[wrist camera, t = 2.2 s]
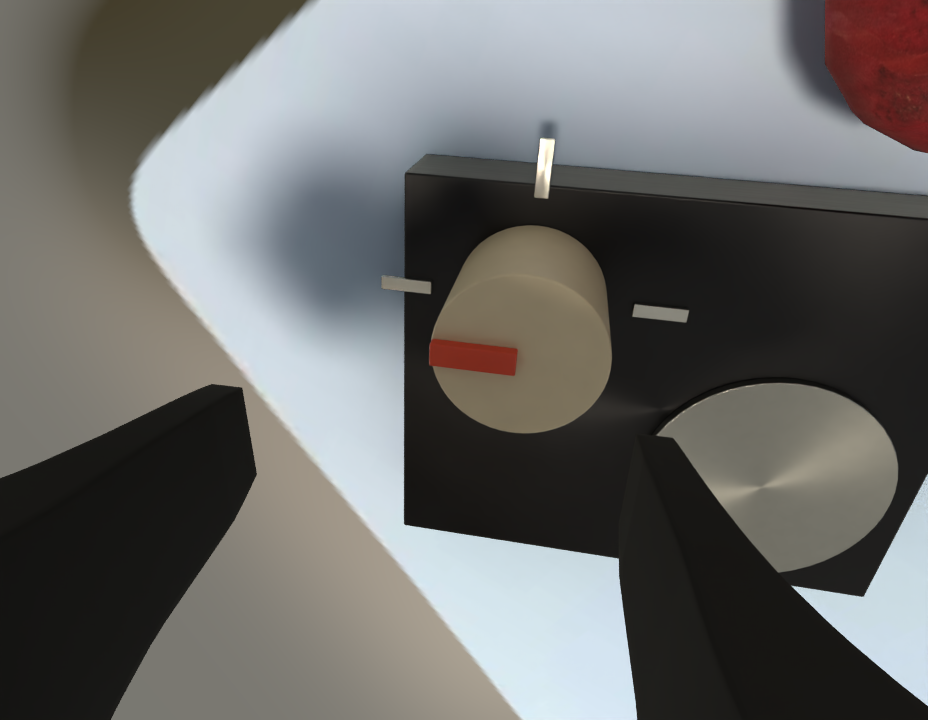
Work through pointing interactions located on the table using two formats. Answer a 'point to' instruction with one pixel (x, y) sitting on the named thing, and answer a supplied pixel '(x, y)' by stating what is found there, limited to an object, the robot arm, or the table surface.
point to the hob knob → (524, 332)
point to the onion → (882, 64)
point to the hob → (665, 334)
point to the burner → (790, 464)
